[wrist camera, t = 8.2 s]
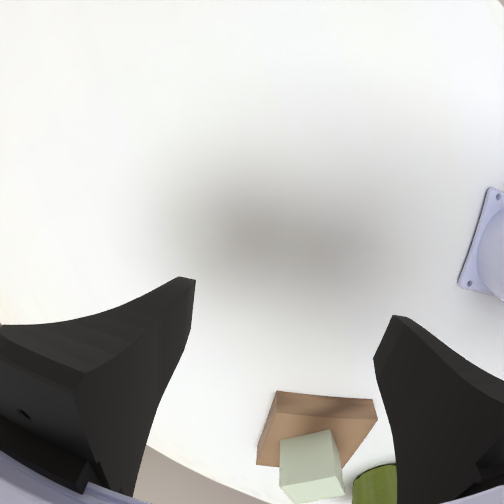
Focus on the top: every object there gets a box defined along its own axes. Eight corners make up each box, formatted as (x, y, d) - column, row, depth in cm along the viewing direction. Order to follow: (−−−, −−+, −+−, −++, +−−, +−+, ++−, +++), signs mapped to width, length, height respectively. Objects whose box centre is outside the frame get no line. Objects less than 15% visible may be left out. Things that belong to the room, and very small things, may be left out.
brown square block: (371, 395, 26) (377, 419, 23) (338, 448, 29) (341, 469, 26) (276, 387, 26) (276, 412, 23) (257, 442, 29) (256, 464, 26)
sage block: (329, 429, 23) (335, 475, 19) (339, 452, 25) (344, 494, 20) (280, 440, 24) (279, 486, 20) (294, 462, 26) (294, 504, 21)
